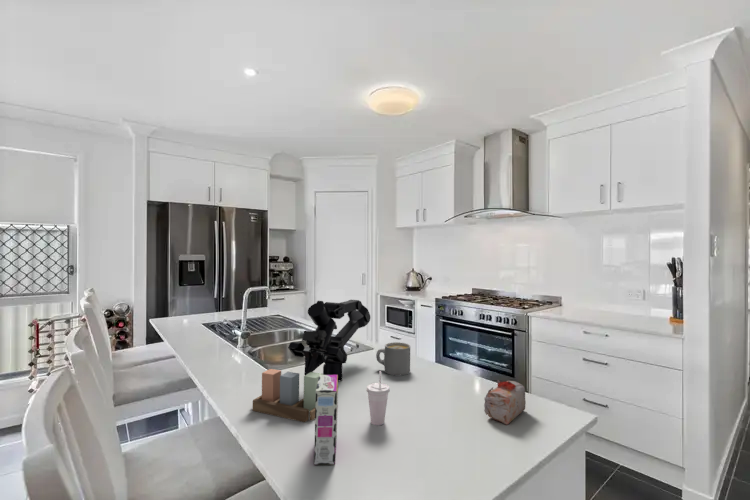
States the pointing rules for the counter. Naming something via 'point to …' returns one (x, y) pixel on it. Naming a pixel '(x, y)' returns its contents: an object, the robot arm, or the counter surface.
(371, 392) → the smoothie
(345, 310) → the robot arm
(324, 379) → the candy bar box
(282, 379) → the grey tall block
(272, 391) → the pink rectangular block
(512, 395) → the food item
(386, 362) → the coffee mug
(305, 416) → the wooden slotted rack
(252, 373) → the counter surface
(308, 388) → the sage key
